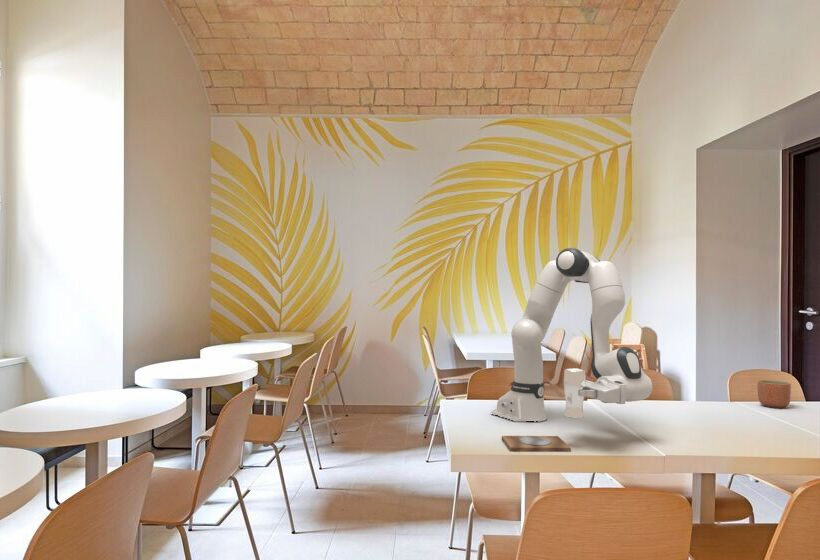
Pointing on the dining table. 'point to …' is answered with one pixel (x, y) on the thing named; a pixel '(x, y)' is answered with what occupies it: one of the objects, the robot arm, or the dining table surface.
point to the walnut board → (536, 443)
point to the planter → (774, 393)
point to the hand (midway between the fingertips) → (572, 391)
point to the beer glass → (574, 392)
